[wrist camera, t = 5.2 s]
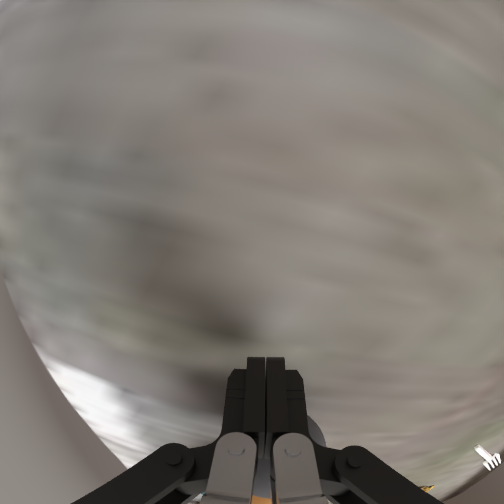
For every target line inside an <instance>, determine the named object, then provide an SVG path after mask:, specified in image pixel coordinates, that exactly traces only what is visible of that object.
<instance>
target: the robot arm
mask: <svg viewBox="0 0 504 504" xmlns="http://www.w3.org/2000/svg"><path fill="white" fill-rule="evenodd" d="M263 447H264V459H270V471H269V483H270V494H271V504H329V503H328V500H329V501H330V502H332V503H333V504H444V503H442V502H440V501H439V500H437V499H436V498H434V497H433V496H431V495H430V494H428V493H427V492H425V491H424V490H422V489H421V488H419V487H418V486H416V485H415V484H413V483H412V482H411V481H409V480H408V479H406V478H405V477H403V476H402V475H401V474H399V473H398V472H396V471H395V470H394V469H392V468H391V467H390V466H388V465H387V464H386V463H384V462H383V461H381V460H380V459H379V458H377V457H376V456H375V455H373V454H372V453H371V452H370V451H368V450H367V449H365V448H363V447H361V446H348V447H345V448H343V449H342V450H337V449H332V448H327V447H323V446H321V445H319V444H317V443H316V442H315V441H314V440H313V439H312V438H311V436H310V434H309V430H308V421H307V411H306V402H305V393H304V384H303V379H302V377H301V375H300V374H299V372H298V371H297V370H285V359H284V357H267V358H266V374H265V357H247V369H234V370H233V371H232V373H231V374H230V376H229V377H228V382H227V391H226V400H225V407H224V415H223V424H222V431H221V434H220V436H219V437H218V438H217V439H216V440H215V441H214V442H213V443H211V444H209V445H206V446H202V447H196V448H190V449H189V448H187V447H186V446H184V445H182V444H178V443H169V444H166V445H163V446H162V447H160V448H159V449H157V450H156V451H154V452H153V453H152V454H150V455H149V456H147V457H146V458H144V459H143V460H141V461H140V462H138V463H137V464H135V465H134V466H132V467H131V468H129V469H128V470H127V471H125V472H123V473H122V474H120V475H119V476H117V477H115V478H114V479H112V480H111V481H109V482H107V483H106V484H104V485H103V486H101V487H99V488H97V489H96V490H94V491H92V492H91V493H89V494H87V495H85V496H84V497H82V498H80V499H79V500H77V501H75V502H73V503H71V504H187V503H189V502H190V501H191V500H192V499H194V498H195V497H196V496H198V495H199V494H200V493H204V492H205V494H203V496H202V498H201V501H200V504H252V497H253V489H254V481H255V476H256V474H257V467H258V459H262V458H263ZM327 499H328V500H327Z"/></svg>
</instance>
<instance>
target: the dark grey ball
mask: <svg viewBox="0 0 504 504" xmlns="http://www.w3.org/2000/svg"><path fill="white" fill-rule="evenodd" d="M307 421H308V430H309V434H310V436H311V438H312V439H313V440H314V441H315V442H316V443H317V444H319V445H321V446H323V447H326V442H325V439H324V436H323V433H322V431H321V430H320V428H319V426H318V425H317V424H316V423H315V422H314V421H313V420H312V419H311V418H310V417H309V416H308V415H307ZM269 471H270V459H264V447H263V458H262V459H258V467H257V474H256V476H255V481H254V489H253V495H254V496H257V497H261V498H269V499H271V494H270V483H269Z"/></svg>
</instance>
